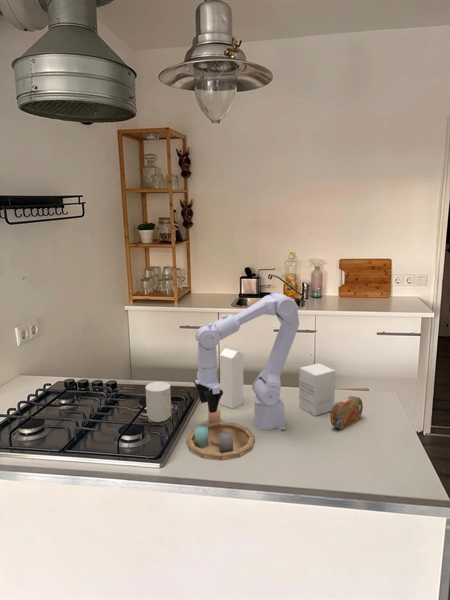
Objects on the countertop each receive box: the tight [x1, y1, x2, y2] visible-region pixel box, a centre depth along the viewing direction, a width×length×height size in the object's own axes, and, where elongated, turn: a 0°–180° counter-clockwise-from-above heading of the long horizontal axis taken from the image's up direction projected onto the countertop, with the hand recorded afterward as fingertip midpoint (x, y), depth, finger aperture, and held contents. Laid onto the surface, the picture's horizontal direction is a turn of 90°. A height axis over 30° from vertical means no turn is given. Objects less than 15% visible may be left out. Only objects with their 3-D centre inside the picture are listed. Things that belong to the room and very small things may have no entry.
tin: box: [330, 395, 363, 430], centre depth 153 cm, size 15×3×8 cm, turn 131°
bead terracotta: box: [207, 406, 221, 423], centre depth 154 cm, size 4×4×5 cm
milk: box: [219, 344, 244, 410], centre depth 167 cm, size 6×6×22 cm
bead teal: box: [194, 425, 208, 448], centre depth 139 cm, size 4×4×5 cm
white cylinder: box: [145, 381, 172, 422], centre depth 156 cm, size 8×8×12 cm
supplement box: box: [298, 362, 336, 417], centre depth 163 cm, size 9×9×15 cm
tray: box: [185, 421, 256, 461], centre depth 141 cm, size 20×20×2 cm
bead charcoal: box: [219, 432, 233, 453], centre depth 135 cm, size 4×4×5 cm
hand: (208, 407), depth 145 cm, fingers open, 7 cm apart
